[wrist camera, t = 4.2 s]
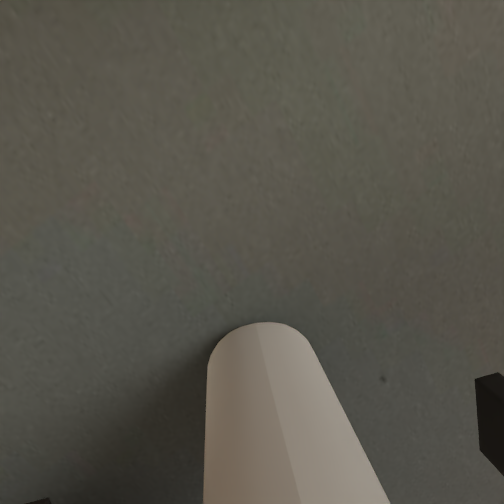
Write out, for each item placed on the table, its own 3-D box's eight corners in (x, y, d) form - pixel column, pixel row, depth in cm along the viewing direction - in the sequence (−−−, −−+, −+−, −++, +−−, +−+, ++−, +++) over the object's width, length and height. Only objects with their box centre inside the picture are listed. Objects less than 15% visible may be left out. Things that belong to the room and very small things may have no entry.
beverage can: (286, 420, 18) (422, 923, 6) (191, 392, 17) (141, 921, 5) (330, 335, 17) (591, 743, 5) (231, 299, 16) (280, 698, 4)
